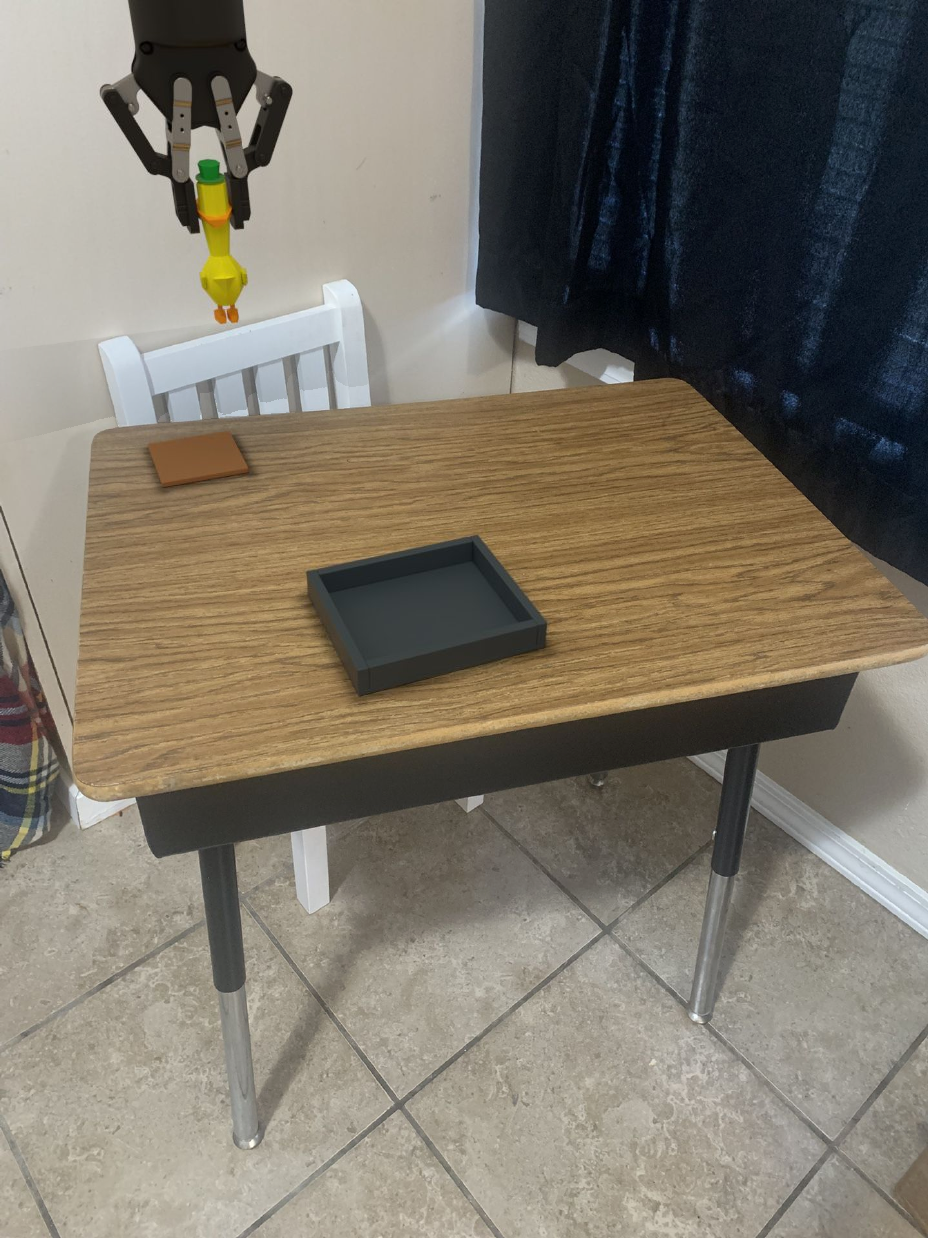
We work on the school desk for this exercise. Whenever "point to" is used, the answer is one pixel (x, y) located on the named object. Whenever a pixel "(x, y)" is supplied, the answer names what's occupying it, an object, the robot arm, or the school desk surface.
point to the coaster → (197, 458)
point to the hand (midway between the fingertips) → (214, 227)
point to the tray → (423, 613)
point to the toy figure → (218, 242)
